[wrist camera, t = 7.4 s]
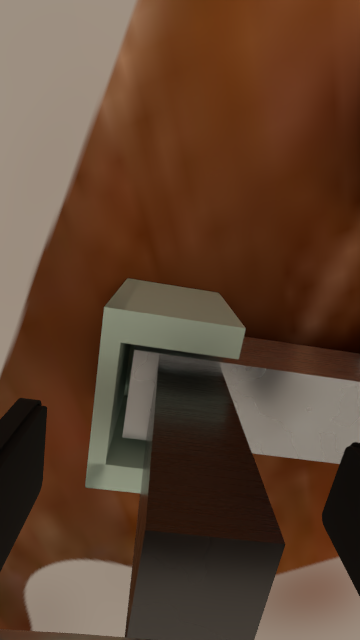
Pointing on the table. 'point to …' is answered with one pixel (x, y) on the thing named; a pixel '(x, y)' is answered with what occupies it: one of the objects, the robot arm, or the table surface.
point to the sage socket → (117, 357)
